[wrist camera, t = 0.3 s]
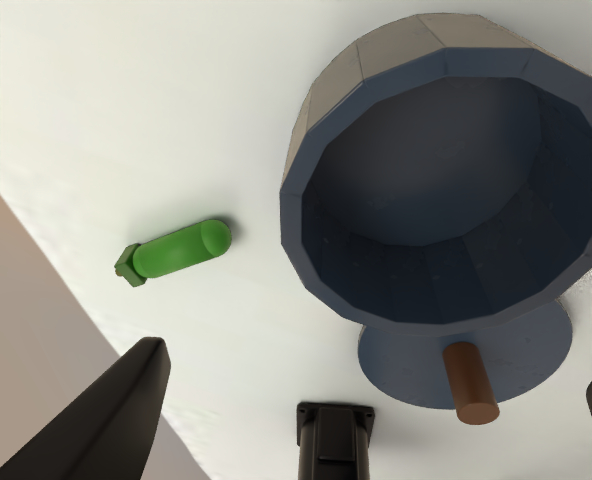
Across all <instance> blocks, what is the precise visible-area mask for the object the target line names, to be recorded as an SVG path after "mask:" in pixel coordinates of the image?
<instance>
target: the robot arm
mask: <svg viewBox="0 0 592 480" xmlns="http://www.w3.org/2000/svg"><path fill="white" fill-rule="evenodd" d="M170 369H171V362H170V358H169V354H168V351H167V347H166V344H165V341H164V339H162V338H160V337H144V338H142V339H140V340H139V341H138V342H137V343H136V344H135V345H134V346H133V347H132V348H131V349H129V350H128V351H127V352H126V353H125V354H124V355H123V356H122V357H121V358H120V359H119V360H117V361H116V362H115V363H114V364H113V365H112V366H111V367H110V368H109V369H108V370H107V371H105V372H104V373H103V374H102V375H101V376H100V377H99V378H98V379H97V380H96V381H94V382H93V383H92V384H91V385H90V386H89V387H88V388H87V389H86V390H85V391H84V392H82V393H81V394H80V395H79V396H78V397H77V398H76V399H75V400H74V401H73V402H71V403H70V404H69V406H67V407H66V408H65V409H64V410H63V411H62V412H61V413H59V414H58V415H57V416H56V417H55V418H54V419H53V420H52V421H51V422H50V423H49V424H47V425H46V426H45V427H44V428H43V429H42V430H41V431H40V432H39V433H38V434H36V436H34V437H33V438H32V439H31V440H30V441H29V442H28V443H27V444H26V445H24V446H23V447H22V448H21V449H20V450H19V451H18V452H17V453H16V454H15V455H14V456H12V457H11V458H10V459H9V460H8V461H7V462H6V463H5V464H4V465H3V466H1V467H0V480H140V479H141V476H142V473H143V470H144V468H145V465H146V462H147V459H148V456H149V454H150V450H151V447H152V444H153V441H154V437H155V433H156V430H157V425H158V421H159V417H160V413H161V409H162V404H163V400H164V396H165V392H166V387H167V383H168V379H169V375H170ZM586 398H587V402H588V406H589V409H590V412H591V416H592V382H591V383H590V384H589V386H588V388H587V391H586ZM374 417H375V413H374V409H372V408H366V407H350V406H335V405H320V404H305V403H301V404H298V405H297V445H298V446H300V456H299V471H298V480H370V474H369V458H368V448H369V442H370V437H371V432H372V427H373V422H374Z"/></svg>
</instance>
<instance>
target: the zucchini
mask: <svg viewBox="0 0 592 480" xmlns="http://www.w3.org/2000/svg"><path fill="white" fill-rule="evenodd" d="M231 240H232V237H231V232H230V230H229V228H228V227H227V226H226V225H225V224H224V223H223V222H221V221H219V220H214V219H210V220H206V221H203V222H200V223H198V224H195V225H192V226H190V227H187V228H184V229H182V230H179V231H177V232H174V233H171V234H169V235H166V236H163V237H161V238H158V239H155V240H153V241H150V242H148V243H145V244H143V245H141V246H139V245H138V244H134V245H131V246H129V247H126V249H125V250H124V252H123V253H122V255H121V256H120V258H119V260H118V261H117V263H116V264H115V266H114V267H115V268H116V270H115V272H116V274H117V276H123V277H124V278H125V279H126V280H127V281H128V282H129V283H130V284H131V285H132V286H133V287H137V286H140V285H143V284H145V282H146V280H147V278H157V277H160V276H163V275H166V274H169V273H172V272H175V271H178V270H180V269H183V268H186V267H189V266H192V265H195V264H198V263H201V262H204V261H207V260H210V259H213V258H215V257H218V256H221V255H223V254H224V253H225V252H226V251H227V250H228V249H229V247H230V245H231Z"/></svg>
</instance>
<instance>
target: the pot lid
mask: <svg viewBox="0 0 592 480" xmlns="http://www.w3.org/2000/svg"><path fill="white" fill-rule="evenodd" d="M571 343H572V326H571V321H570V319H569V317H568V314H567V313H566V311H565V309H564V308H563V306H562V305H561V304H560V302H559V301H558V300H557V299H555V300H554V301H552V302H550V303H548V304H546V305H543V306H541V307H539V308H537V309H535V310H533V311H531V312H529V313H527V314H524V315H522V316H520V317H518V318H516V319H514V320H512V321H510V322H508V323H505V324H503V325H499V326H495V327H490V328H485V329H480V330H475V331H470V332H465V333H460V334H455V335H450V336H444V337H437V336H419V335H400V334H391V333H390V334H389V333H386V332H383V331H380V330H377V329H374V328H372V327H369V326H366V325H364V326H363V328H362V330H361V332H360V336H359V340H358V358H359V363H360V366H361V368H362V371H363V372H364V374H365V375H366V377H367V378H368V379H369V381H370V382H371V383H372V384H373V385H374V386H376V387H377V388H378V389H379V390H381V391H382V392H384V393H385V394H387V395H389V396H391V397H393V398H395V399H397V400H399V401H402V402H405V403H408V404H412V405H415V406H420V407H426V408H434V409H456V413H457V417H458V418H459V420H460V421H462V422H463V423H466V424H470V425H482V424H487V423H490V422H492V421H494V420H495V419H497V417H498V416H499V413H500V410H499V407H498V405H497V403H500V402H503V401H506V400H509V399H512V398H514V397H516V396H519V395H521V394H523V393H525V392H527V391H529V390H531V389H533V388H535V387H536V386H538V385H539V384H541V383H542V382H544V381H545V380H546V379H547V378H548V377H550V376H551V375H552V374H553V373H554V372H555V371H556V370H557V369H558V368H559V367H560V365H561V364H562V362H563V361H564V360H565V358H566V356H567V354H568V352H569V350H570V346H571Z"/></svg>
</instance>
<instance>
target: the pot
mask: <svg viewBox="0 0 592 480" xmlns="http://www.w3.org/2000/svg"><path fill="white" fill-rule="evenodd" d="M280 223H281V244H282V246H283V248H284V250H285V252H286V254H287V255H288V257H289V259H290V261H291V263H292V265H293V267H294V268H295V270H296V272H297V274H298V276H299V278H300V280H301V281H302V283H303V285H304V286H305V288H306V289H307V290H308V291H309V292H311V293H312V294H313V295H314V296H316V297H317V298H318V299H319V300H321V301H322V302H323V303H325V304H326V305H327V306H328V307H330V308H331V309H332V310H333V311H335V312H336V313H337V314H339V315H340V316H341V317H343V318H345V319H348V320H351V321H354V322H357V323H360V324H363V325H366V326H369V327H372V328H374V329H377V330H380V331H383V332H386V333H389V334H390V333H391V334H400V335H419V336H437V337H444V336H450V335H455V334H460V333H465V332H470V331H475V330H480V329H485V328H490V327H495V326H499V325H503V324H505V323H508V322H510V321H512V320H514V319H516V318H518V317H520V316H522V315H524V314H527V313H529V312H531V311H533V310H535V309H537V308H539V307H541V306H543V305H546V304H548V303H550V302H552V301H554V300H555V299H557V298H558V297H559V296H560V295H561V294H562V293H564V292H565V291H566V290H567V289H568V288H569V287H571V286H572V285H573V284H574V283H575V282H576V281H577V280H579V279H580V278H581V277H582V276H583V275H584V274H585V273H587V272H588V271H589V270H590V269H591V268H592V76H590V75H588V74H586V73H585V72H583V71H581V70H579V69H578V68H576V67H574V66H572V65H571V64H569V63H567V62H565V61H564V60H562V59H560V58H558V57H557V56H555V55H553V54H551V53H550V52H548V51H546V50H544V49H543V48H541V47H539V46H537V45H536V44H534V43H532V42H530V41H529V40H527V39H525V38H523V37H521V36H519V35H517V34H515V33H513V32H511V31H509V30H507V29H505V28H504V27H502V26H500V25H498V24H496V23H494V22H492V21H490V20H488V19H486V18H484V17H482V16H480V15H465V14H454V13H433V14H417V15H413V16H410V17H408V18H403V19H400V20H397V21H394V22H392V23H389V24H386V25H383V26H381V27H379V28H377V29H375V30H373V31H371V32H369V33H367V34H365V35H364V36H362V37H361V38H359V39H357V40H356V41H354V42H353V43H352V44H351V45H349V46H348V47H347V48H346V49H344V50H343V51H342V52H341V53H340V54H339V55H338V56H337V57H335V58H334V59H333V60H332V61H331V63H330V64H329V65H328V66H327V67H326V68H325V69H324V71H323V72H322V73H321V74H320V76H319V77H318V78H317V79H316V80H315V81H314V83H313V84H312V86H311V88H310V90H309V93H308V95H307V97H306V99H305V101H304V103H303V105H302V108H301V111H300V114H299V116H298V119H297V121H296V123H295V126H294V128H293V131H292V136H291V141H290V145H289V150H288V155H287V160H286V164H285V169H284V174H283V178H282V183H281V188H280Z"/></svg>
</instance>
